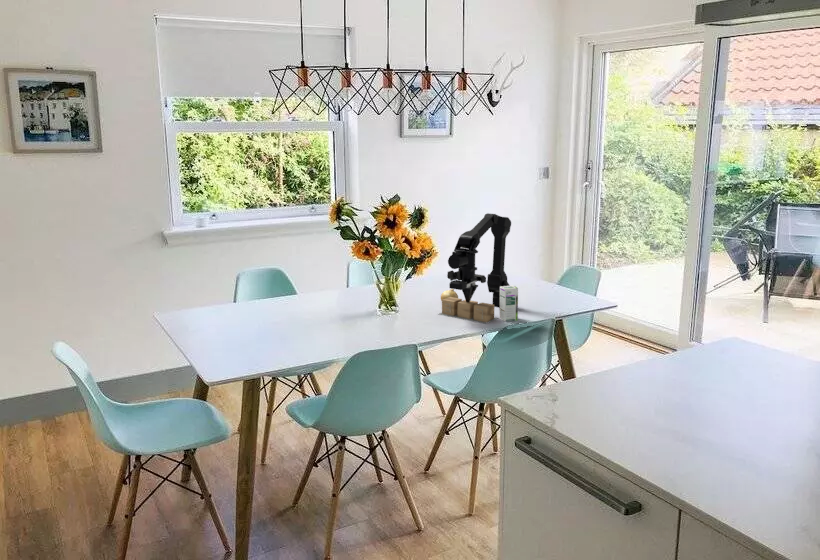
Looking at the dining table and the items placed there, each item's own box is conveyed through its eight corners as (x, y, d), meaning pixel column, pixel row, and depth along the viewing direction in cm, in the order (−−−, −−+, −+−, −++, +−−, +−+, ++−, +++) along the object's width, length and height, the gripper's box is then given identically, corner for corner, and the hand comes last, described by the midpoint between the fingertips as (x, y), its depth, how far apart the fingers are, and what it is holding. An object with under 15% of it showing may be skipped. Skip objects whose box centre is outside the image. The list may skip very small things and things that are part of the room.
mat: (451, 311, 298) (451, 309, 298) (498, 320, 283) (498, 318, 283) (437, 316, 290) (437, 314, 290) (485, 326, 276) (485, 323, 275)
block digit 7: (481, 316, 286) (481, 302, 284) (494, 318, 282) (494, 304, 281) (473, 319, 281) (473, 305, 280) (485, 322, 277) (486, 307, 276)
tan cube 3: (450, 310, 295) (450, 296, 294) (461, 312, 292) (461, 299, 290) (441, 313, 291) (441, 299, 289) (453, 315, 287) (453, 301, 286)
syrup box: (504, 323, 278) (505, 288, 275) (499, 320, 284) (499, 285, 281) (517, 322, 280) (518, 287, 277) (511, 318, 285) (512, 284, 282)
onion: (457, 306, 306) (457, 291, 304) (439, 306, 307) (439, 290, 306) (459, 302, 313) (459, 287, 312) (442, 301, 315) (442, 286, 313)
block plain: (465, 313, 291) (465, 299, 289) (477, 315, 287) (477, 301, 286) (457, 316, 286) (457, 302, 285) (469, 318, 282) (469, 304, 281)
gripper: (464, 259, 294) (464, 295, 297) (438, 266, 280) (438, 303, 283) (486, 262, 287) (486, 298, 290) (461, 269, 273) (461, 308, 276)
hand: (467, 302), depth 285 cm, fingers closed, pressing on block plain
